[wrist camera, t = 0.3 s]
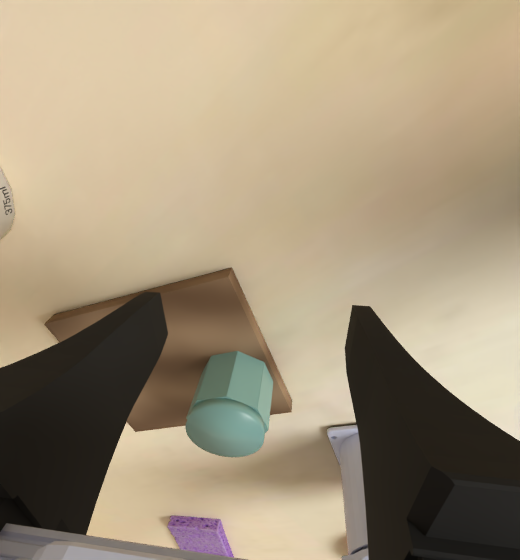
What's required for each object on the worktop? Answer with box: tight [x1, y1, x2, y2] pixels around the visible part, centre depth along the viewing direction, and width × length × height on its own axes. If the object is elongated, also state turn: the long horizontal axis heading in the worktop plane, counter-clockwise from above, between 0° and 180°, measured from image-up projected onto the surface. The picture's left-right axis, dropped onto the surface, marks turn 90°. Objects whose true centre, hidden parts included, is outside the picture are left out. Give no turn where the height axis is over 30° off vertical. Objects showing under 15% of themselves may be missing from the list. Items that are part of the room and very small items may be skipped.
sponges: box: [167, 516, 234, 558], centre depth 47 cm, size 7×13×2 cm, turn 6°
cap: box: [186, 351, 273, 457], centre depth 25 cm, size 5×5×5 cm
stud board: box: [45, 268, 292, 432], centre depth 26 cm, size 14×16×4 cm
